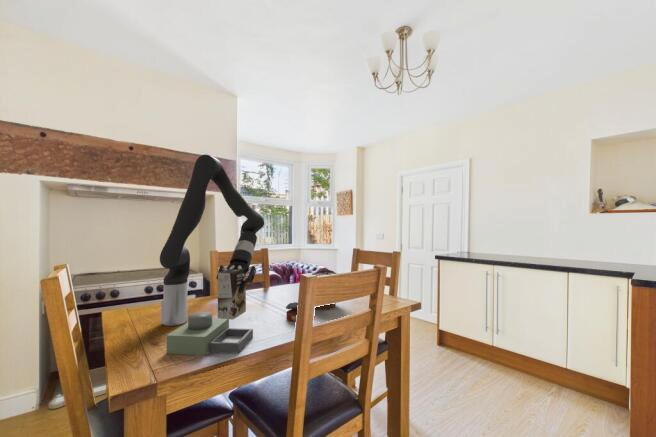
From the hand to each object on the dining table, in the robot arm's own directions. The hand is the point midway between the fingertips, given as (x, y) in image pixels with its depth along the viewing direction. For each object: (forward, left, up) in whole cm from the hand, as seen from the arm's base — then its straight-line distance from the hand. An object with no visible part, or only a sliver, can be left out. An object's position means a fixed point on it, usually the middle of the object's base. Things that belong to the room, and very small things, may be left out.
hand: (230, 291), depth 101 cm
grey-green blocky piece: (-7, +1, -19) cm, 20 cm away
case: (+28, +48, -19) cm, 59 cm away
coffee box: (0, +2, -9) cm, 9 cm away
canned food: (+18, +30, -20) cm, 41 cm away
